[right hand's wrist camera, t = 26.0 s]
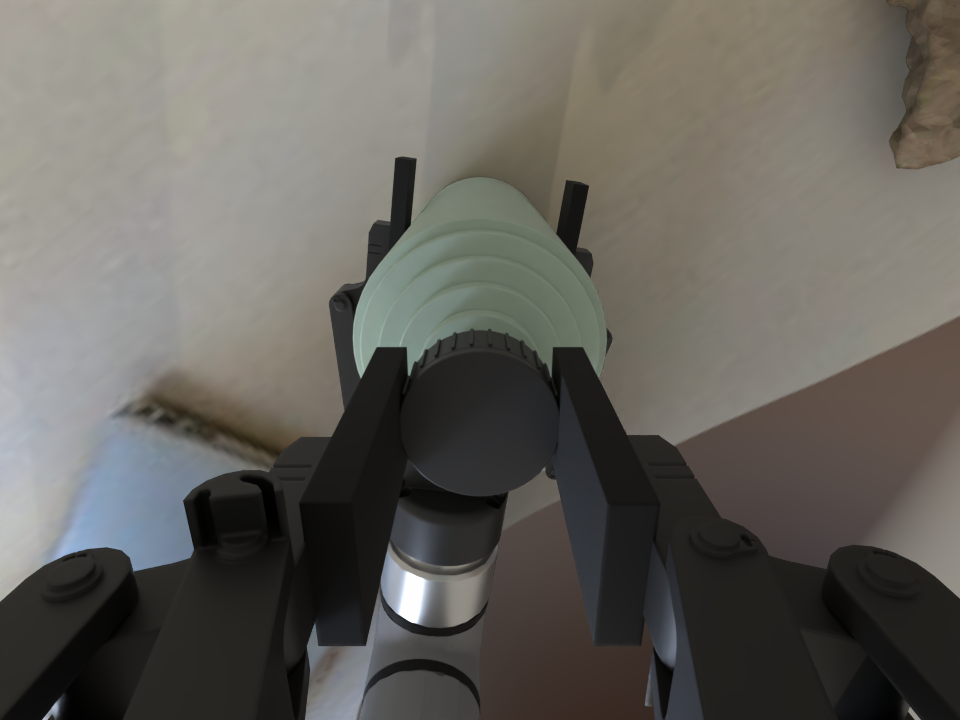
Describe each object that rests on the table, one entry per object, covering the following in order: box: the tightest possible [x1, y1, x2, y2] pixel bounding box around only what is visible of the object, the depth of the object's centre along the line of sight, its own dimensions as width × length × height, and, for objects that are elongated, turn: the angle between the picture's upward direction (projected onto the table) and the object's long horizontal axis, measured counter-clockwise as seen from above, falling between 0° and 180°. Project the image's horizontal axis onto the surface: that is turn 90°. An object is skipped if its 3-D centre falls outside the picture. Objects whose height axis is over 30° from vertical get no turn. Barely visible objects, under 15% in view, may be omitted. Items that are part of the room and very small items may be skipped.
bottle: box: [353, 177, 607, 378], centre depth 25 cm, size 8×8×24 cm
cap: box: [400, 329, 560, 496], centre depth 14 cm, size 4×4×2 cm
